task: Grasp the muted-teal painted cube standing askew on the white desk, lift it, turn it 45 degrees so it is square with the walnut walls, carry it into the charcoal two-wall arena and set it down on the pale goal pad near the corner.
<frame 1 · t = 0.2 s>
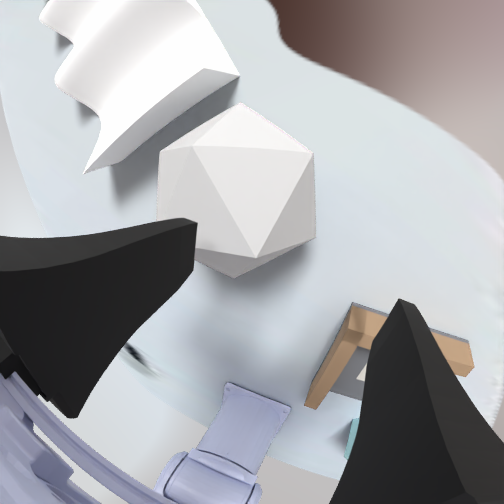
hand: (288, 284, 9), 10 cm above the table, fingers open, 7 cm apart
die: (263, 176, 19), on the table
cube: (379, 425, 25), on the table
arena: (386, 366, 21), on the table
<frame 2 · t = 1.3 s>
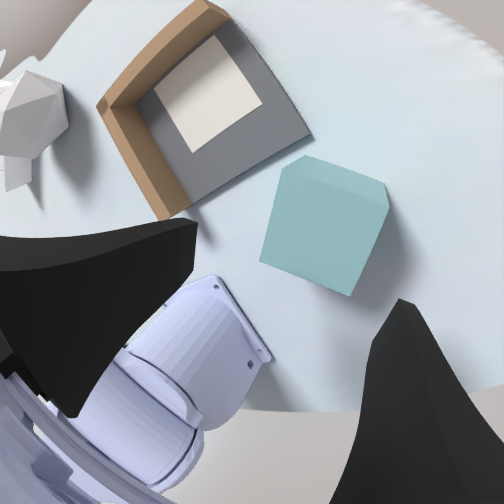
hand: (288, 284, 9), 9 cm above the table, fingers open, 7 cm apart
die: (60, 109, 22), on the table
file organizer: (0, 115, 29), on the table
cube: (333, 205, 17), on the table
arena: (200, 110, 17), on the table
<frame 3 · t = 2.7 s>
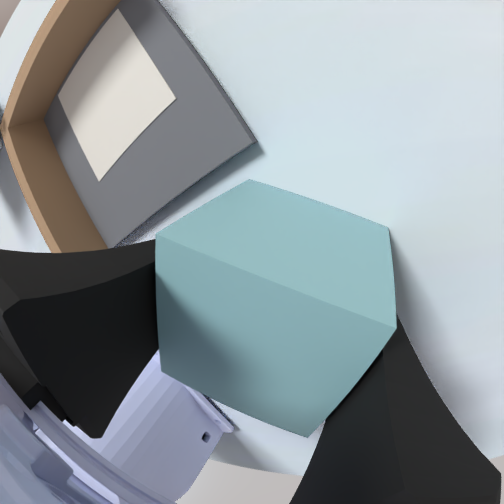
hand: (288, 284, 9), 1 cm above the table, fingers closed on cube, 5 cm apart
cube: (298, 263, 11), on the table, touching gripper
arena: (105, 119, 11), on the table
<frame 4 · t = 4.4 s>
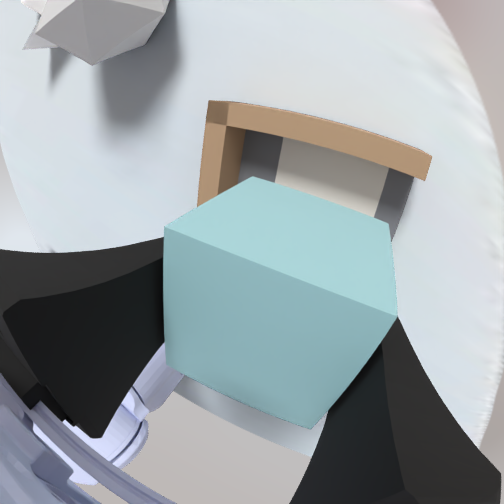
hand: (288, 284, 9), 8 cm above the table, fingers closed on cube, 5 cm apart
die: (147, 12, 14), on the table
cube: (301, 259, 11), point 7 cm above the table, touching gripper
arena: (305, 205, 17), on the table
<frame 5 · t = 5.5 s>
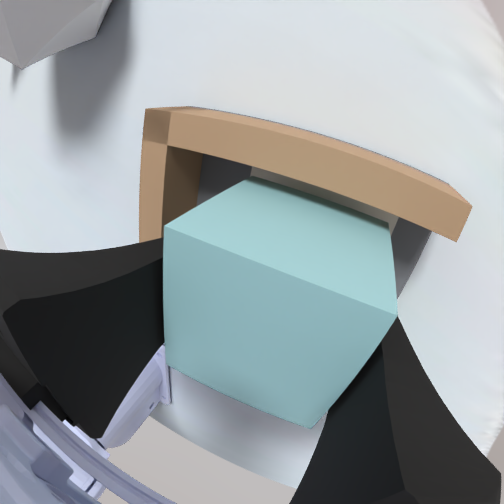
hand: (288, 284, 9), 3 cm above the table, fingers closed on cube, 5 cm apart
cube: (301, 258, 11), point 2 cm above the table, touching gripper
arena: (283, 249, 13), on the table
when the fingers open (3 cm above the table, at t = 6.3 s): cube drops 1 cm, resting on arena.
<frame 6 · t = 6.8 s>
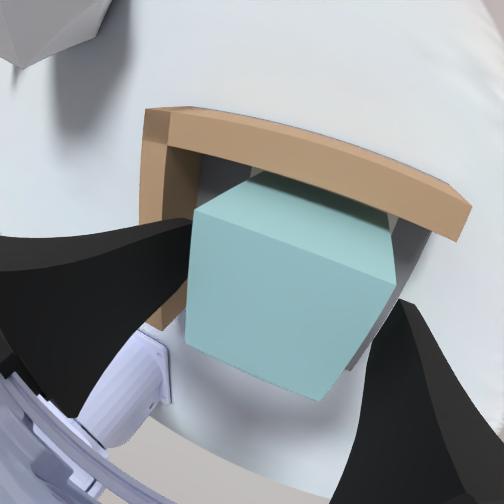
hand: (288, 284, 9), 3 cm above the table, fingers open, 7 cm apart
cube: (307, 246, 12), resting on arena
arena: (283, 249, 13), on the table
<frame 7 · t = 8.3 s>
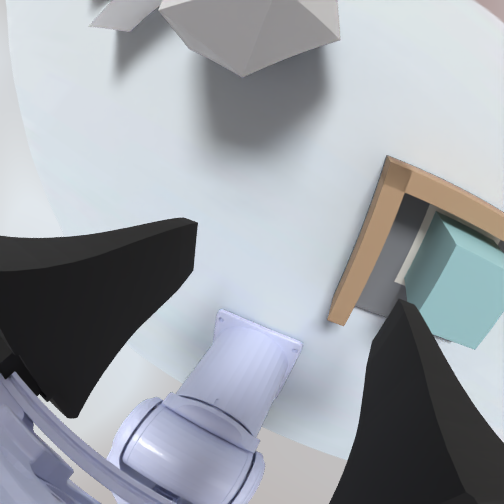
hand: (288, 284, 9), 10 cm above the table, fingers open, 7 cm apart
die: (276, 19, 13), on the table
cube: (450, 259, 15), resting on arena
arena: (432, 261, 16), on the table
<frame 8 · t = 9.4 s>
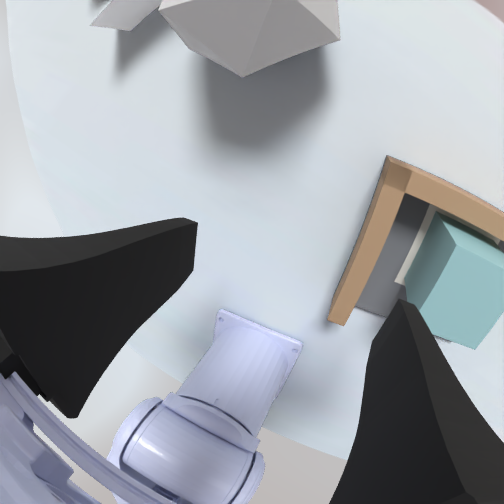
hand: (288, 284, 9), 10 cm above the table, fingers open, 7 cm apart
die: (276, 19, 13), on the table
cube: (450, 259, 15), resting on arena
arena: (432, 261, 16), on the table
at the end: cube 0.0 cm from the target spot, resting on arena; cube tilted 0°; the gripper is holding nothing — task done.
